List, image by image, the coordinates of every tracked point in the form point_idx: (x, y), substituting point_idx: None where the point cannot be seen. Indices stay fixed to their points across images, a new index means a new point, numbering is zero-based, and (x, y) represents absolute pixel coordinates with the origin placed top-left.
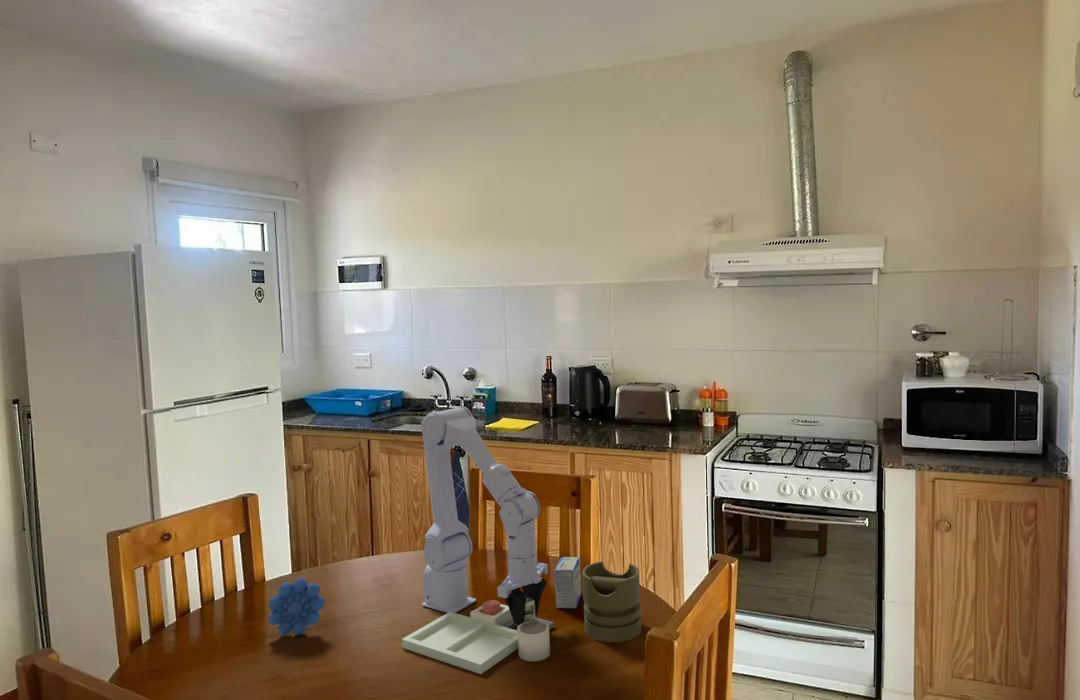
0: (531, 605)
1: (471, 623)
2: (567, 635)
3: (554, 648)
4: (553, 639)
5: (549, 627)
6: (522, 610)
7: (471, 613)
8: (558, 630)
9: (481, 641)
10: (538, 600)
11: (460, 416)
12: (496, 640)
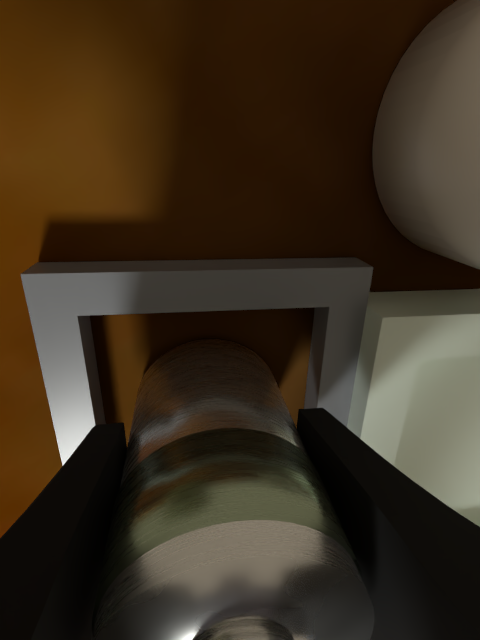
0: (266, 513)
1: None
2: (88, 38)
3: (364, 15)
4: (226, 128)
5: (99, 266)
6: (432, 504)
7: None
8: (62, 186)
9: (466, 483)
10: (44, 547)
11: None
12: (435, 435)
